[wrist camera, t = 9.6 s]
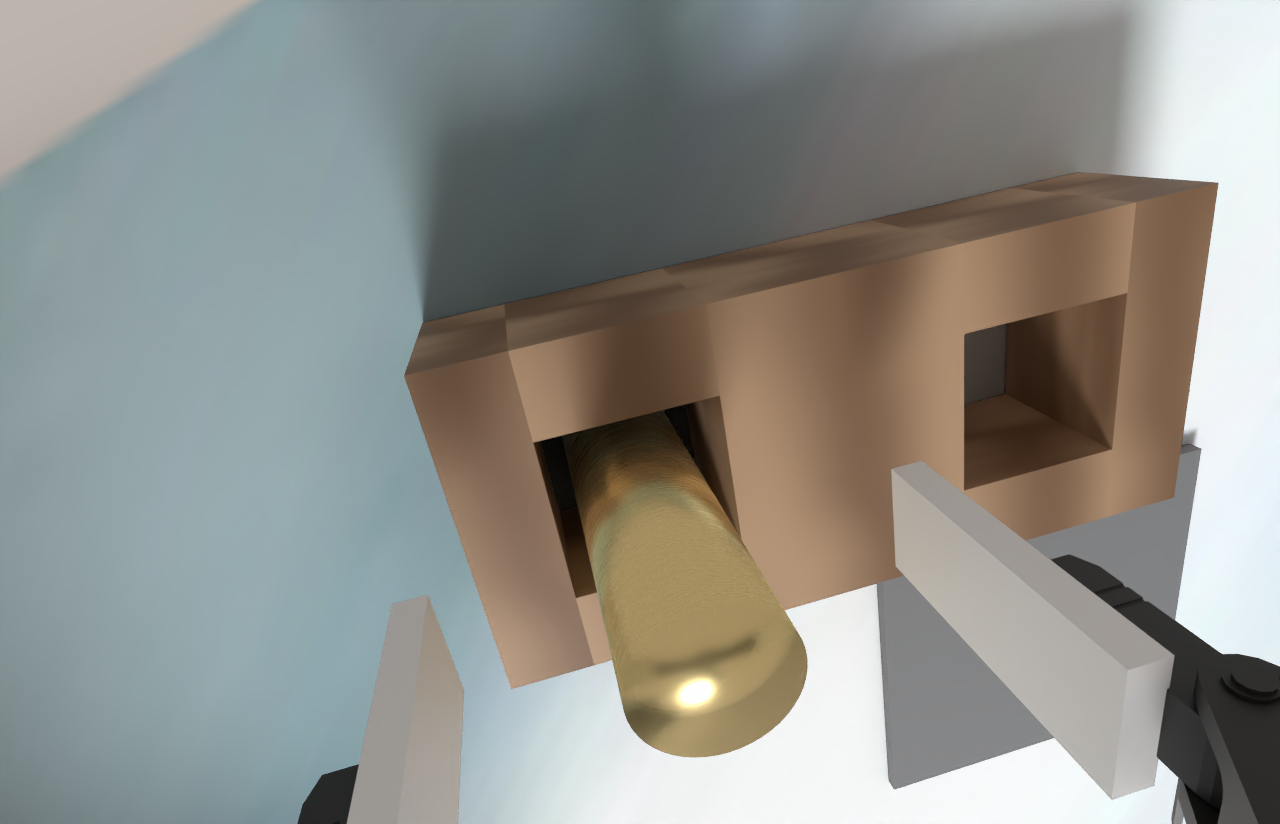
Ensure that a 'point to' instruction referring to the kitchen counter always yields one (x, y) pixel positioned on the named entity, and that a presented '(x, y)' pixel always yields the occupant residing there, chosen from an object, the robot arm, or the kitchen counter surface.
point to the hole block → (830, 390)
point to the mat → (963, 683)
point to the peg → (680, 595)
